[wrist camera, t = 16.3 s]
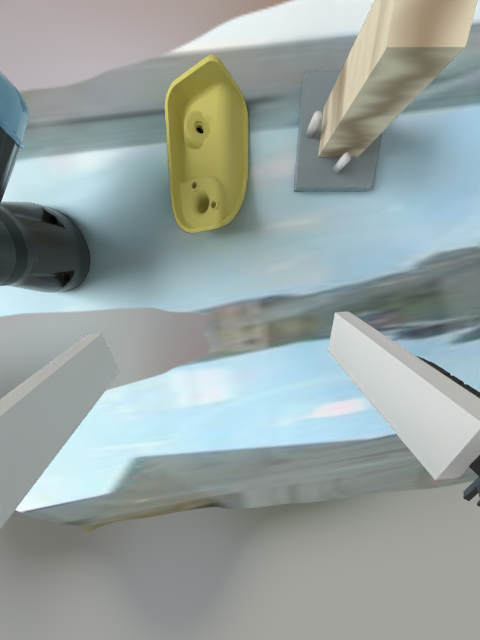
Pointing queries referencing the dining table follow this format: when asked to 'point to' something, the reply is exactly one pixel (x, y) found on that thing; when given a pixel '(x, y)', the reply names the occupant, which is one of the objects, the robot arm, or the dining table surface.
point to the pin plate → (309, 166)
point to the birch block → (391, 68)
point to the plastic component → (206, 146)
